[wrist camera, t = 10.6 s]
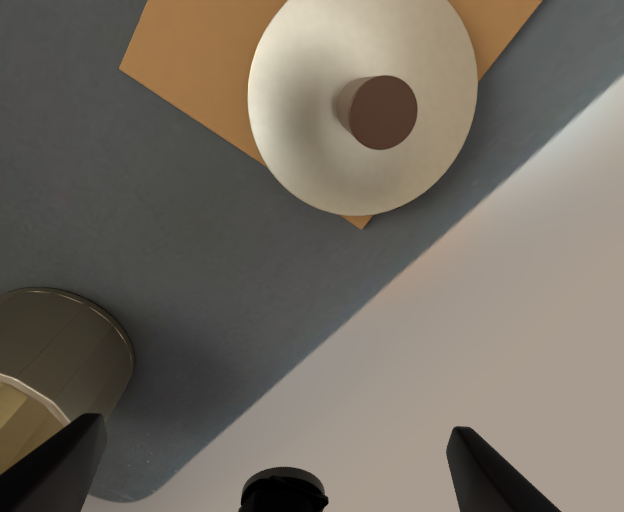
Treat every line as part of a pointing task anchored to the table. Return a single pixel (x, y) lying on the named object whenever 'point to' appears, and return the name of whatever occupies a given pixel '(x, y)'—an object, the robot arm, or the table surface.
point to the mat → (241, 48)
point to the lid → (362, 100)
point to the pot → (55, 366)
